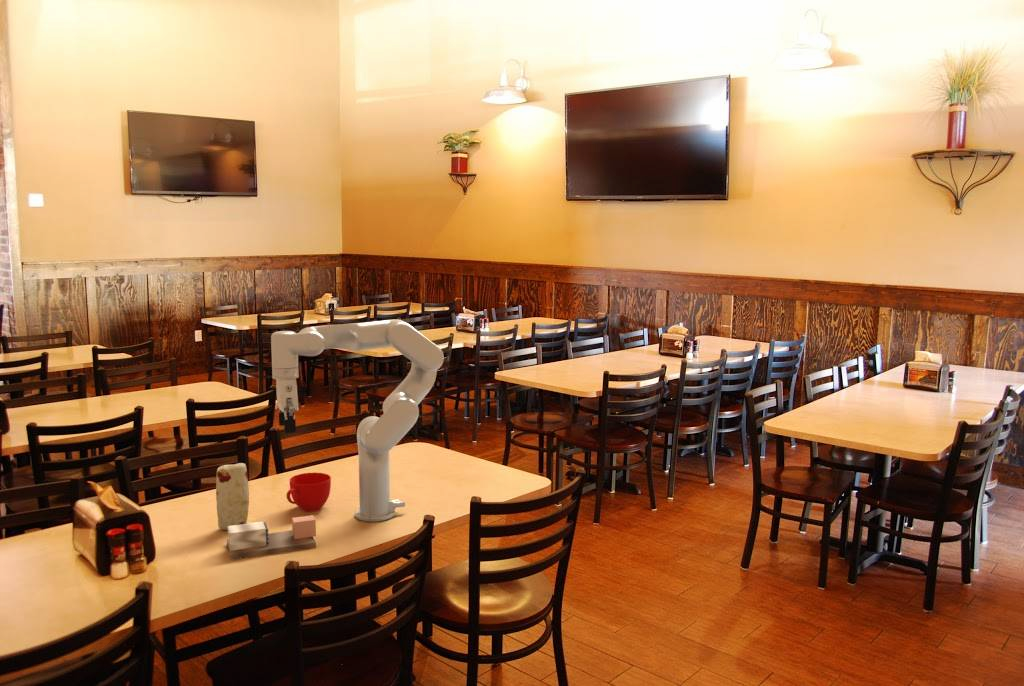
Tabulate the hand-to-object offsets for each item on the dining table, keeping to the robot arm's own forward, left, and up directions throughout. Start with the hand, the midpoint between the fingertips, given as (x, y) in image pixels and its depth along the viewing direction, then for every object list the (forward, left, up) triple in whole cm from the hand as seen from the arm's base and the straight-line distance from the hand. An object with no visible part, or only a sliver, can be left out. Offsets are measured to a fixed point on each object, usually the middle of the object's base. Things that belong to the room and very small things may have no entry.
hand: (287, 428), depth 244 cm
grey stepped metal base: (+9, +14, -30) cm, 35 cm away
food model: (+16, -4, -30) cm, 35 cm away
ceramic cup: (-7, -12, -30) cm, 33 cm away
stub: (-2, +14, -28) cm, 32 cm away
